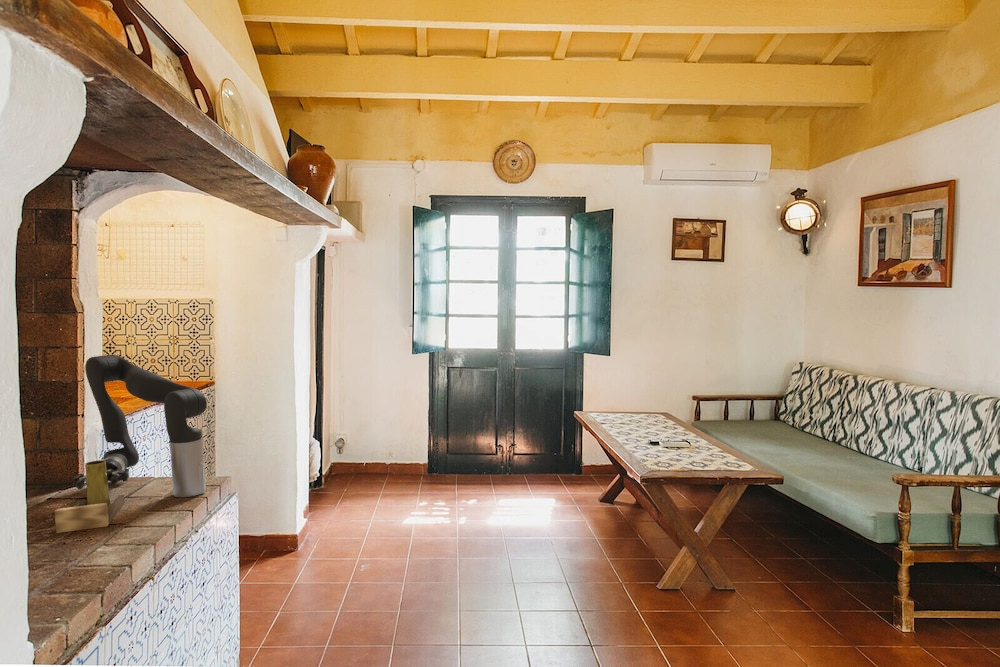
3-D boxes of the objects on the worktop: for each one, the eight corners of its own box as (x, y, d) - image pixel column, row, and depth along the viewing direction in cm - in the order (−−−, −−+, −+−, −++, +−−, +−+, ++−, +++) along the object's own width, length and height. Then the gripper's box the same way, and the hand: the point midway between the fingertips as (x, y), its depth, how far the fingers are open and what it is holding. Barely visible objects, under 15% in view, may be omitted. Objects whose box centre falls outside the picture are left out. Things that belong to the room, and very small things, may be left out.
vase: (99, 513, 190) (95, 465, 189) (81, 512, 191) (78, 465, 190) (115, 506, 196) (112, 459, 195) (98, 505, 197) (95, 459, 196)
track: (124, 502, 199) (123, 483, 199) (107, 526, 178) (105, 504, 178) (79, 508, 195) (78, 488, 195) (56, 532, 174) (54, 511, 174)
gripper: (82, 461, 204) (67, 474, 189) (133, 456, 209) (122, 468, 194) (84, 484, 205) (69, 499, 189) (135, 479, 209) (124, 493, 194)
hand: (95, 484), depth 192 cm, fingers open, 8 cm apart
